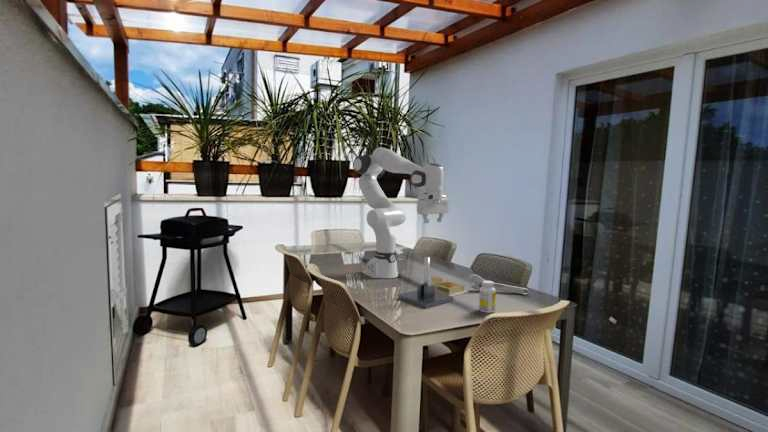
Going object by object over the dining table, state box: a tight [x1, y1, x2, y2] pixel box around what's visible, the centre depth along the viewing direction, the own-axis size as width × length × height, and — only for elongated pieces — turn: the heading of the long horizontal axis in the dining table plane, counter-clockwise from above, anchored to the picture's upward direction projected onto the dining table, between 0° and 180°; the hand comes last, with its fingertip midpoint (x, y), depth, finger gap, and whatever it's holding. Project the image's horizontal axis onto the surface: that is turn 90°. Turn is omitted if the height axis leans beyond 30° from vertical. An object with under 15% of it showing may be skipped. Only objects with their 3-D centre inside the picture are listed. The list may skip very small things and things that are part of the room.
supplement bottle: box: [478, 280, 497, 314], centre depth 180 cm, size 7×7×13 cm
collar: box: [430, 275, 465, 295], centre depth 210 cm, size 16×11×5 cm
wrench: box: [467, 273, 530, 295], centre depth 210 cm, size 8×2×30 cm
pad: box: [437, 289, 469, 297], centre depth 209 cm, size 16×16×1 cm
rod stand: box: [398, 256, 455, 309], centre depth 194 cm, size 18×18×20 cm
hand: (432, 222), depth 213 cm, fingers open, 8 cm apart
